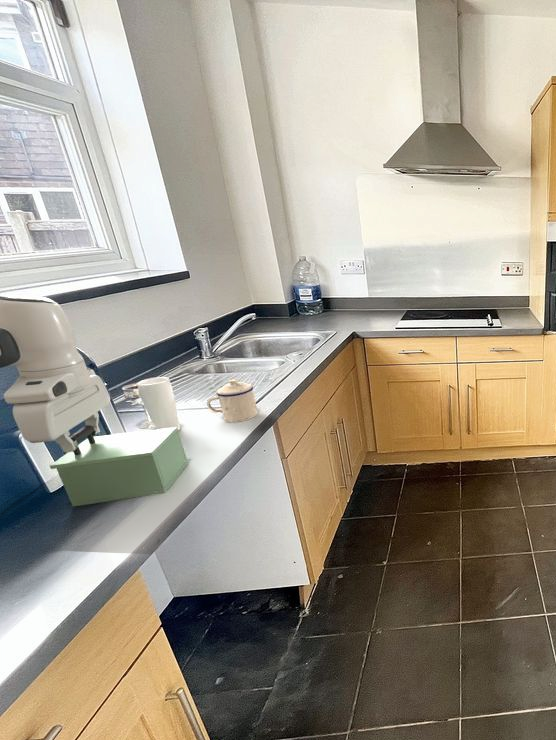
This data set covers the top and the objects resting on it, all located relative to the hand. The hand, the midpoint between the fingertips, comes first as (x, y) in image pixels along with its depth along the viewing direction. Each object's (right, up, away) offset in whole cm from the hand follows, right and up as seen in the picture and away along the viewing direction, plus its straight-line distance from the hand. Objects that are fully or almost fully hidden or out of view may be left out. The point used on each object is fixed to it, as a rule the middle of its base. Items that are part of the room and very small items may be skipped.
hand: (82, 442), depth 86 cm
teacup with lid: (+6, +2, +38) cm, 39 cm away
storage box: (+6, -10, +6) cm, 13 cm away
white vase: (-7, -1, +30) cm, 30 cm away
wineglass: (-15, 0, +34) cm, 37 cm away
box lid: (+5, -2, +2) cm, 6 cm away
